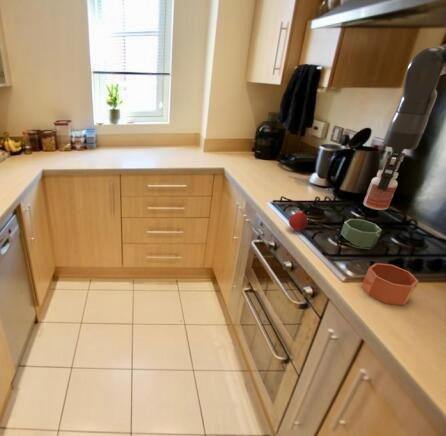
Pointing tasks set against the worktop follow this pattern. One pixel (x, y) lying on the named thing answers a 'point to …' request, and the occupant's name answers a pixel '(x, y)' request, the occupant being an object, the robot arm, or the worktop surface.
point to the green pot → (361, 233)
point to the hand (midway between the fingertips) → (383, 186)
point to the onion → (298, 221)
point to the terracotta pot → (389, 284)
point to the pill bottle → (380, 192)
